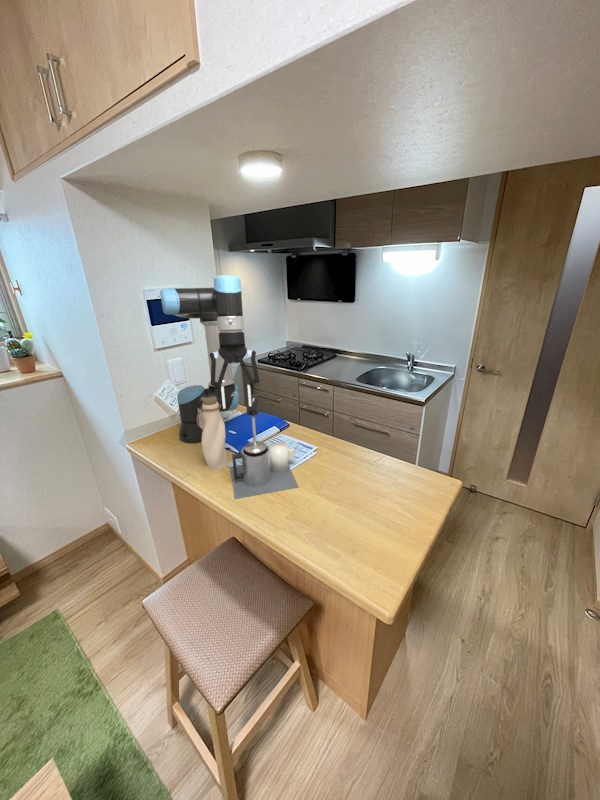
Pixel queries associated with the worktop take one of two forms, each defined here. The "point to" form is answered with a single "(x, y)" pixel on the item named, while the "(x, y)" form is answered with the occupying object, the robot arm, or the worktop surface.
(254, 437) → the plunger
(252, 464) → the press carafe
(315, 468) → the worktop surface
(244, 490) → the slate board
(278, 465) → the cream mug
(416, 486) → the worktop surface
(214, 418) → the water bottle
